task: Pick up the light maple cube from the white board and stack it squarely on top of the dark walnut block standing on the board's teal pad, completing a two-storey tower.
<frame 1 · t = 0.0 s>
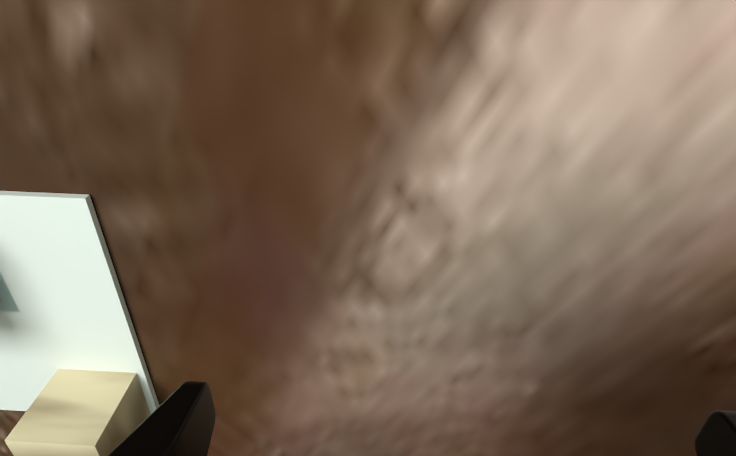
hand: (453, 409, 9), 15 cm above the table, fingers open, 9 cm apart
white board: (15, 315, 29), on the table
maple cube: (108, 396, 32), resting on white board
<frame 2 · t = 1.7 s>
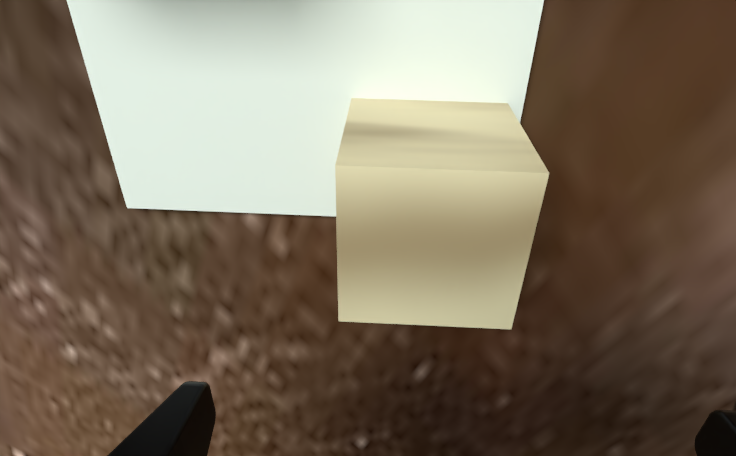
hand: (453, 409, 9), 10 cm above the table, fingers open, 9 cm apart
maple cube: (423, 171, 17), resting on white board
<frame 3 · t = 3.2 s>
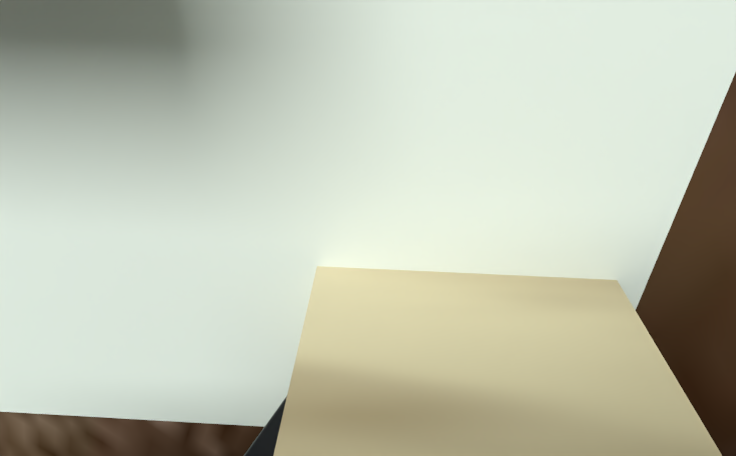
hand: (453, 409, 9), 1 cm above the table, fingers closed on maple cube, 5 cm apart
white board: (197, 2, 6), on the table
maple cube: (449, 374, 10), resting on white board, touching gripper
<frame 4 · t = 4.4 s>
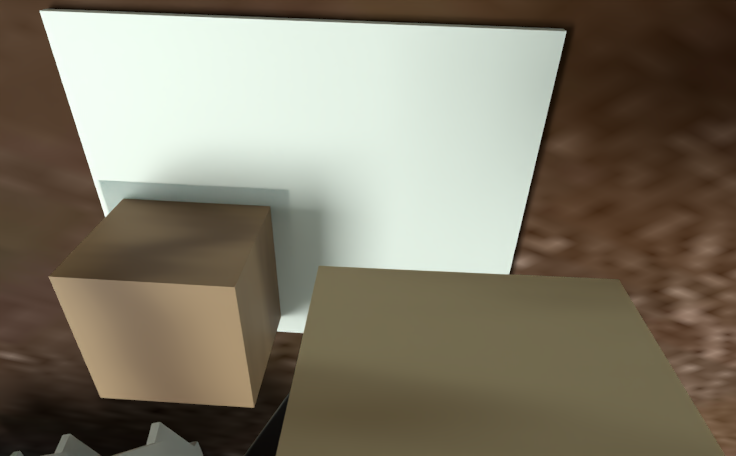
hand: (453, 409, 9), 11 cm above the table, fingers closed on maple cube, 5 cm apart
white board: (309, 203, 20), on the table
walnut block: (207, 261, 21), resting on white board
maple cube: (450, 373, 10), point 10 cm above the table, touching gripper
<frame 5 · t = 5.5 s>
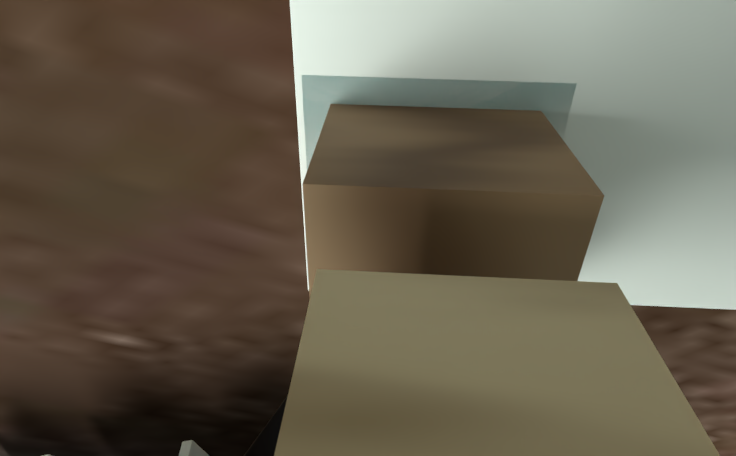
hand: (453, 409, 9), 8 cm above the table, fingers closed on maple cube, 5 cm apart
white board: (590, 107, 14), on the table
walnut block: (426, 198, 16), resting on white board
maple cube: (449, 376, 10), point 8 cm above the table, touching gripper
when the fingers open (7 cm above the table, at t = 6.1 s): maple cube stays where it is, resting on walnut block.
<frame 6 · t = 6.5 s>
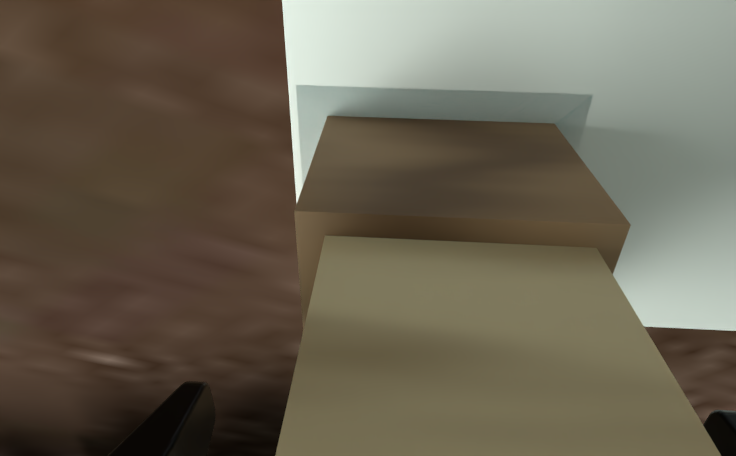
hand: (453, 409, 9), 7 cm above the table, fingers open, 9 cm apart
white board: (606, 120, 13), on the table
walnut block: (430, 216, 15), resting on white board, touching maple cube
maple cube: (445, 338, 10), point 5 cm above the table, touching walnut block
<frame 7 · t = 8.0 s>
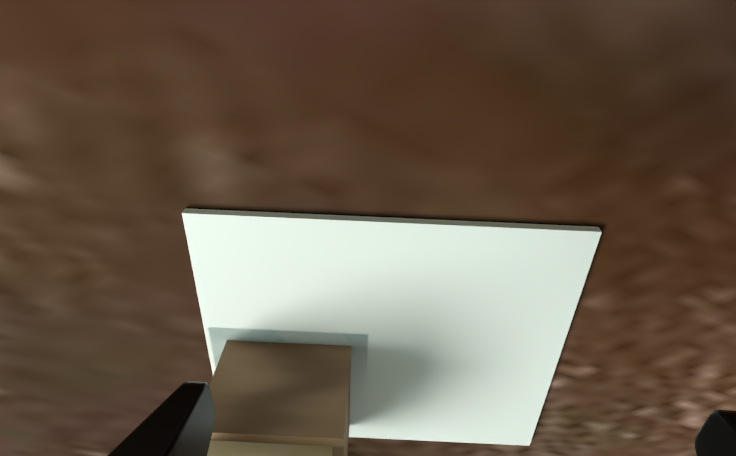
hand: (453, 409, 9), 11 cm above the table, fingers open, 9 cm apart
white board: (382, 341, 24), on the table
walnut block: (291, 385, 25), resting on white board, touching maple cube
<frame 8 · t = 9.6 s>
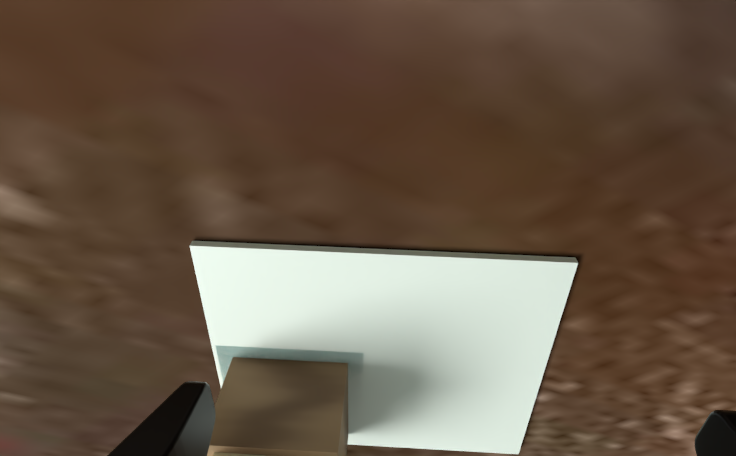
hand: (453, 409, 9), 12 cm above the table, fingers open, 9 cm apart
white board: (377, 358, 25), on the table
walnut block: (293, 397, 27), resting on white board, touching maple cube
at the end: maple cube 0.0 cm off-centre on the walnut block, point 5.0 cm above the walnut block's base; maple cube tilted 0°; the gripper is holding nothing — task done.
